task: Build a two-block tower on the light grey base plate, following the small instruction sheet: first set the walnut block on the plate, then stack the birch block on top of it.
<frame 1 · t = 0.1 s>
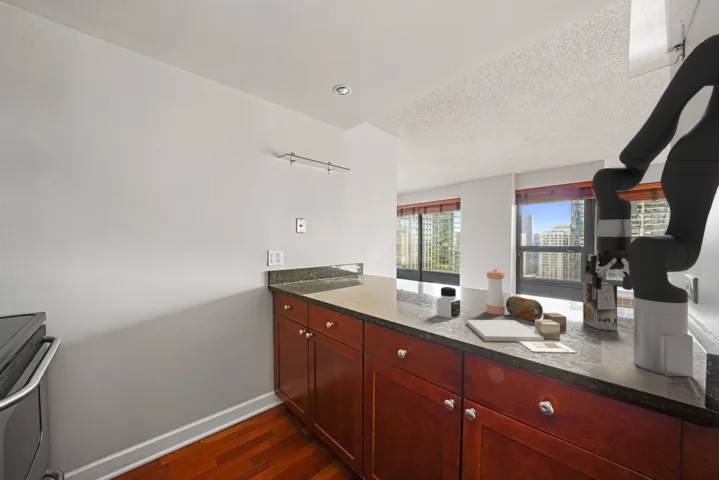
hand: (612, 289, 83), 17 cm above the worktop, tool pointing down, fingers open, 8 cm apart
base plate: (501, 331, 97), on the worktop
medicine bottle: (448, 316, 118), on the worktop
walnut block: (554, 328, 101), on the worktop
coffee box: (599, 326, 103), on the worktop
pepper shaker: (495, 313, 122), on the worktop
instruction sheet: (545, 346, 84), on the worktop
birch block: (547, 336, 92), on the worktop
tin: (523, 318, 114), on the worktop
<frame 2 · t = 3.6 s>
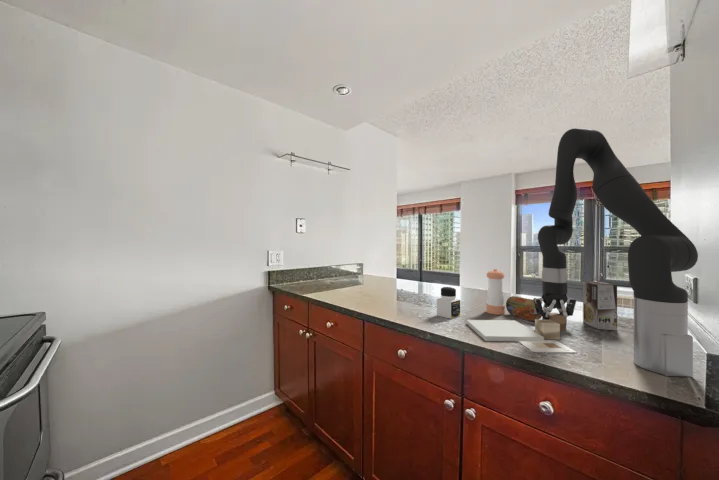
hand: (554, 326, 101), 0 cm above the worktop, tool pointing down, fingers closed on walnut block, 5 cm apart
walnut block: (554, 328, 101), on the worktop, touching gripper
everything else where it was.
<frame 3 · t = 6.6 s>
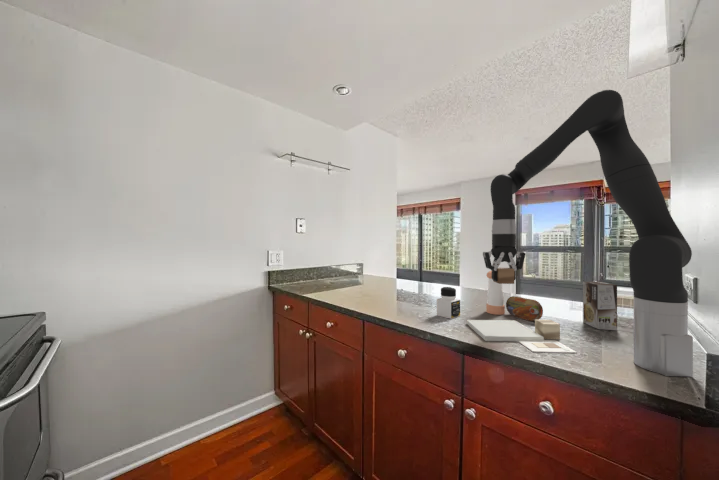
hand: (503, 281, 98), 18 cm above the worktop, tool pointing down, fingers closed on walnut block, 5 cm apart
walnut block: (503, 282, 98), point 17 cm above the worktop, touching gripper
everything else where it was.
when the fingers open (3 cm above the worktop, at t = 9.9 s): walnut block drops 1 cm, resting on base plate.
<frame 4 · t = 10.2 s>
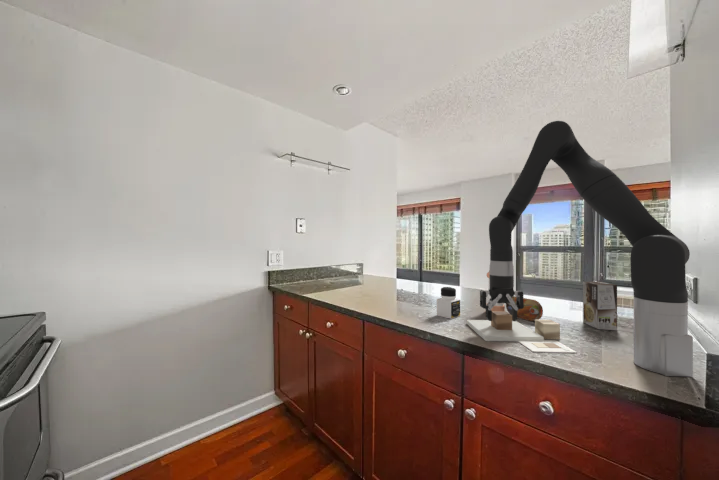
hand: (501, 320, 97), 4 cm above the worktop, tool pointing down, fingers open, 7 cm apart
walnut block: (501, 327, 97), point 1 cm above the worktop, touching base plate
everything else where it was.
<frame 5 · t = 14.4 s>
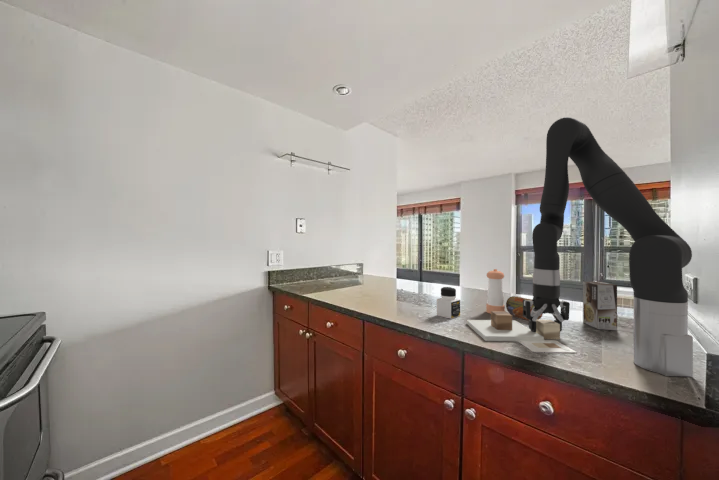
hand: (545, 331, 93), 1 cm above the worktop, tool pointing down, fingers open, 7 cm apart
nothing on the worktop moved.
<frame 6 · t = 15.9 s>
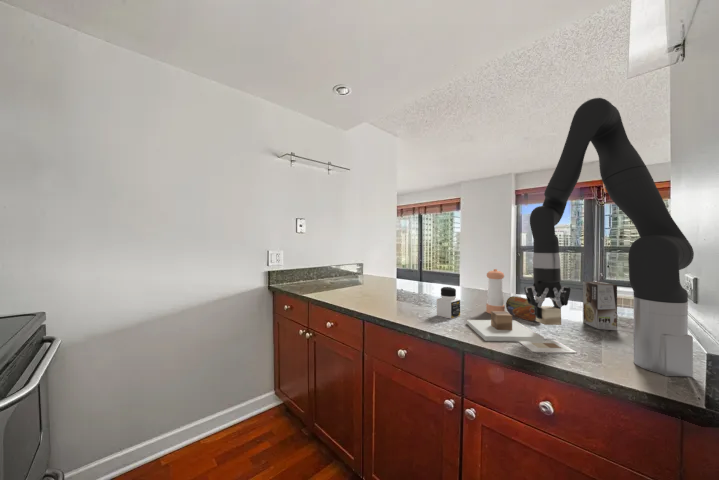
hand: (547, 318, 92), 6 cm above the worktop, tool pointing down, fingers closed on birch block, 5 cm apart
birch block: (548, 322, 91), point 5 cm above the worktop, touching gripper
everything else where it was.
when the fingers open (8 cm above the worktop, at t = 20.3 s): birch block stays where it is, resting on walnut block.
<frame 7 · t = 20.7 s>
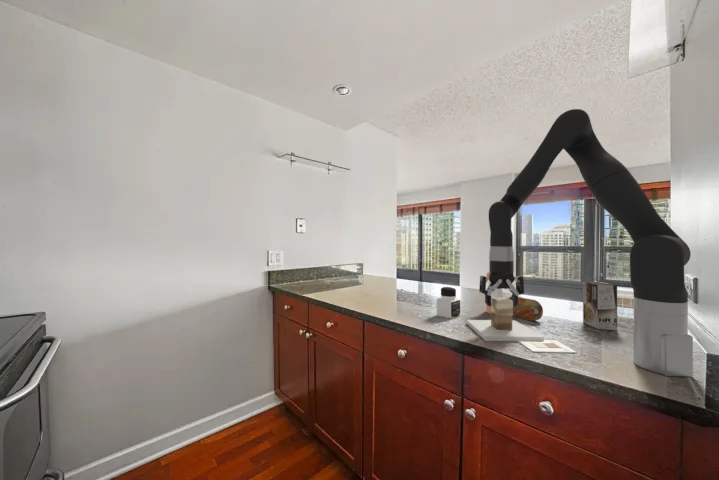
hand: (501, 305, 97), 9 cm above the worktop, tool pointing down, fingers open, 8 cm apart
walnut block: (501, 327, 97), point 1 cm above the worktop, touching base plate, birch block
birch block: (501, 313, 97), point 6 cm above the worktop, touching walnut block
everything else where it was.
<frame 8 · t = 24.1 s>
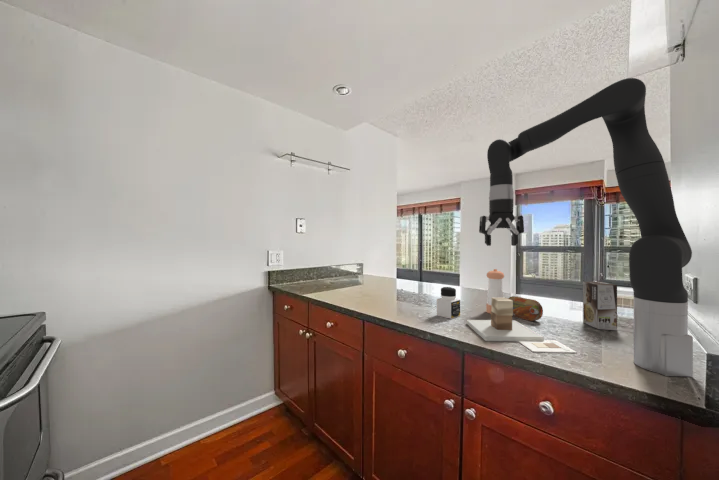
hand: (501, 245, 97), 30 cm above the worktop, tool pointing down, fingers open, 8 cm apart
nothing on the worktop moved.
at the end: walnut block 0.1 cm off-centre on the base plate, point 1.5 cm above the base plate's base; birch block 0.2 cm off-centre on the base plate, point 6.5 cm above the base plate's base; birch block tilted 0° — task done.
